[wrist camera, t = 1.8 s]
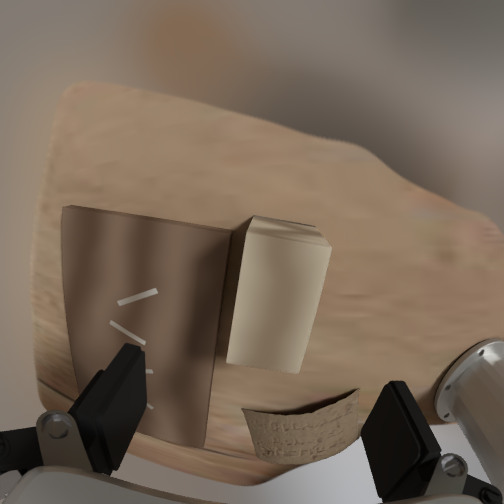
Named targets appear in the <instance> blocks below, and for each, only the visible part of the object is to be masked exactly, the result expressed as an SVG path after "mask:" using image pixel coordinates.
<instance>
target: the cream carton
mask: <svg viewBox="0 0 504 504" xmlns="http://www.w3.org/2000/svg"><path fill="white" fill-rule="evenodd" d="M331 250H332V247H331V246H330V244H329V243H328V242H327V241H326V239H325V238H324V237H323V236H322V235H321V233H320V232H319V231H318V230H317V228H316V227H315V226H311V225H306V224H300V223H295V222H289V221H284V220H278V219H272V218H267V217H261V216H255V215H254V216H253V219H252V221H251V223H250V226H249V228H248V230H247V233H246V239H245V245H244V251H243V258H242V264H241V270H240V277H239V283H238V289H237V296H236V302H235V308H234V315H233V321H232V328H231V334H230V341H229V347H228V354H227V360H226V363H230V364H236V365H241V366H247V367H253V368H260V369H266V370H273V371H280V372H288V373H296V374H299V371H300V367H301V364H302V361H303V357H304V354H305V351H306V347H307V344H308V340H309V337H310V333H311V330H312V326H313V322H314V319H315V315H316V311H317V307H318V304H319V300H320V296H321V292H322V288H323V284H324V280H325V276H326V272H327V267H328V263H329V259H330V255H331Z"/></svg>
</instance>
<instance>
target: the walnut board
mask: <svg viewBox="0 0 504 504" xmlns="http://www.w3.org/2000/svg"><path fill="white" fill-rule="evenodd" d="M232 232H233V230H228V229H222V228H216V227H210V226H204V225H198V224H191V223H185V222H179V221H173V220H166V219H160V218H154V217H147V216H141V215H134V214H128V213H121V212H115V211H108V210H101V209H94V208H88V207H81V206H74V205H70V206H66V207H62V267H63V285H64V298H65V309H66V318H67V326H68V334H69V341H70V347H71V353H72V359H73V365H74V370H75V375H76V380H77V384H78V389H79V393H80V394H81V393H82V392H83V390H84V389H85V388H86V386H87V385H88V384H89V382H90V381H91V380H92V378H93V377H94V376H95V374H96V373H97V372H98V371H99V370H101V369H102V370H106V368H107V367H108V365H109V364H110V363H111V361H112V360H113V359H114V357H115V356H116V355H117V353H118V352H119V351H120V349H121V348H122V347H123V345H124V344H125V343H130V344H133V345H137V346H140V347H141V350H142V351H145V363H146V387H147V406H146V409H145V412H144V414H143V416H142V418H141V420H140V422H139V425H138V427H137V429H136V432H139V433H142V434H145V435H149V436H152V437H155V438H159V439H163V440H166V441H170V442H174V443H178V444H182V445H186V446H190V447H195V448H199V449H203V447H204V443H205V437H206V429H207V420H208V411H209V403H210V394H211V386H212V378H213V370H214V362H215V354H216V346H217V339H218V331H219V323H220V316H221V309H222V301H223V294H224V287H225V280H226V273H227V266H228V259H229V252H230V246H231V239H232Z"/></svg>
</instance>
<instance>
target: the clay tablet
mask: <svg viewBox="0 0 504 504" xmlns="http://www.w3.org/2000/svg"><path fill="white" fill-rule="evenodd" d="M359 390H360V389H357V390H356V391H355V392H354V393H352V394H351V395H350V396H348V397H347V398H346V399H342V400H340V401H338V402H337V403H336V404H332V405H329V406H326V407H324V408H321V409H319V410H317V411H315V412H314V413H305V414H302V415H287V416H283V415H281V414H280V415H274V414H267V413H261V412H254V411H249V410H245V409H241V410H242V411H243V413H244V416H245V419H246V422H247V425H248V428H249V431H250V434H251V438H252V442H253V444H254V448H255V452H256V455H257V457H258V458H260V459H261V460H264V461H267V462H271V463H276V464H307V463H312V462H316V461H320V460H322V459H326V458H328V457H331V456H333V455H336V454H338V453H340V452H341V451H343V450H344V449H346V448H347V447H348V446H350V445H351V444H352V443H353V442H355V441H356V440H358V439H359V438H360V436H361V430H362V427H363V425H364V424H365V423H358V400H357V399H358V396H359Z"/></svg>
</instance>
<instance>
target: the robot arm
mask: <svg viewBox="0 0 504 504" xmlns="http://www.w3.org/2000/svg"><path fill="white" fill-rule="evenodd" d="M146 406H147V387H146V363H145V351H142V350H141V347H140V346H137V345H133V344H130V343H125V344H124V345H123V347H122V348H121V349H120V351H119V352H118V353H117V355H116V356H115V357H114V359H113V360H112V361H111V363H110V364H109V365H108V367H107V368H106V370H102V369H101V370H99V371H98V372H97V373H96V374H95V376H94V377H93V378H92V380H91V381H90V382H89V384H88V385H87V386H86V388H85V389H84V390H83V392H82V393H81V394H80V396H79V397H78V399H77V400H76V401H75V403H74V404H73V405H72V407H71V408H70V410H69V411H68V412H67V413H66V412H64V411H60V410H51V411H47V412H45V413H43V414H42V415H41V416H40V417H39V418H38V420H37V422H36V427H30V428H23V429H17V430H10V431H2V432H0V500H1V499H3V498H5V497H6V498H5V499H4V501H3V502H2V504H226V503H218V502H212V501H205V500H200V499H194V498H190V497H185V496H180V495H175V494H171V493H167V492H163V491H159V490H155V489H151V488H148V487H144V486H140V485H137V484H133V483H130V482H127V481H123V480H120V479H117V478H113V477H110V475H111V473H112V471H113V470H115V471H117V470H118V468H119V467H120V464H121V462H122V460H123V457H124V455H125V453H126V451H127V449H128V446H129V444H130V442H131V440H132V438H133V435H134V433H135V431H136V429H137V427H138V425H139V422H140V420H141V418H142V416H143V414H144V412H145V409H146ZM434 406H435V410H436V412H437V414H438V416H439V417H440V418H441V419H442V420H444V421H447V422H457V423H458V425H459V426H460V428H461V430H462V431H463V433H464V435H465V436H466V438H467V440H468V442H469V444H470V445H471V447H472V449H473V451H474V452H475V454H476V456H477V458H478V459H479V461H480V463H481V465H482V467H483V469H484V471H485V472H486V474H487V476H488V478H489V480H490V482H491V484H492V485H491V484H489V483H486V482H484V481H481V480H479V479H477V478H475V477H473V476H470V475H468V474H467V473H468V466H467V463H466V461H465V460H464V459H463V458H462V457H461V456H459V455H457V454H453V453H447V454H444V455H443V456H441V454H440V452H441V448H440V446H439V444H438V442H437V440H436V438H435V436H434V434H433V432H432V430H431V429H430V427H429V425H428V423H427V421H426V419H425V417H424V415H423V414H422V412H421V410H420V408H419V406H418V404H417V403H416V401H415V399H414V397H413V395H412V394H411V392H410V390H409V388H408V386H407V385H406V383H405V382H404V381H390V382H389V383H388V384H386V385H385V386H384V387H383V389H382V392H381V394H380V396H379V397H378V399H377V401H376V403H375V405H374V407H373V409H372V411H371V413H370V415H369V416H368V418H367V420H366V422H365V424H364V425H363V427H362V430H361V438H362V441H363V444H364V448H365V451H366V455H367V458H368V462H369V465H370V469H371V472H372V476H373V479H374V483H375V486H376V490H377V494H378V496H379V498H382V502H383V503H380V504H504V340H502V339H500V338H493V339H488V340H486V341H483V342H481V343H479V344H477V345H476V346H474V347H472V348H471V349H470V350H469V351H467V352H466V353H465V354H464V355H462V356H461V357H460V358H459V359H458V360H457V361H456V362H455V364H454V365H453V366H452V367H451V368H450V369H449V371H448V372H447V374H446V375H445V376H444V378H443V380H442V381H441V383H440V385H439V387H438V390H437V392H436V396H435V400H434ZM102 473H103V474H102ZM104 474H106V475H104ZM107 475H108V476H107ZM7 493H8V495H7V496H6V495H5V494H7Z"/></svg>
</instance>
